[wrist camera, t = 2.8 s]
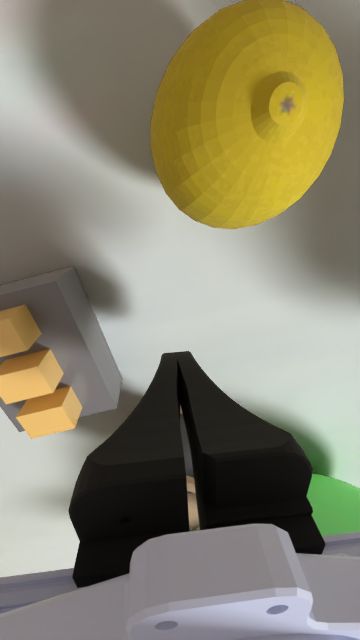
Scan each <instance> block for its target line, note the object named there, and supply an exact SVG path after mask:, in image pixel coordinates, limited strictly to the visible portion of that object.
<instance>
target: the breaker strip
mask: <svg viewBox="0 0 360 640" xmlns="http://www.w3.org/2000/svg"><path fill="white" fill-rule="evenodd" d="M121 384H122V376H121V374H120V372H119V370H118V367H117V365H116V363H115V360H114V358H113V356H112V353H111V351H110V349H109V346H108V344H107V342H106V339H105V337H104V335H103V332H102V330H101V328H100V326H99V323H98V321H97V319H96V316H95V314H94V312H93V309H92V307H91V305H90V302H89V300H88V298H87V295H86V293H85V291H84V288H83V286H82V284H81V282H80V279H79V277H78V275H77V272H76V270H75V268H74V266H71V267H67V268H63V269H60V270H56V271H52V272H48V273H44V274H40V275H37V276H33V277H29V278H25V279H21V280H18V281H14V282H10V283H6V284H2V285H0V407H1V408H2V410H3V411H4V412H5V414H6V415H7V416H8V418H9V419H10V420H11V422H12V423H13V424H14V426H15V427H16V428H17V430H18V431H19V432H22V431H26V432H27V434H28V435H29V436H30V438H31V439H32V438H37V437H41V436H45V435H49V434H53V433H57V432H62V431H66V430H70V429H74V428H75V427H76V424H77V421H78V418H80V417H84V416H88V415H92V414H96V413H100V412H105V411H109V410H113V409H117V405H118V400H119V394H120V389H121Z"/></svg>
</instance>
